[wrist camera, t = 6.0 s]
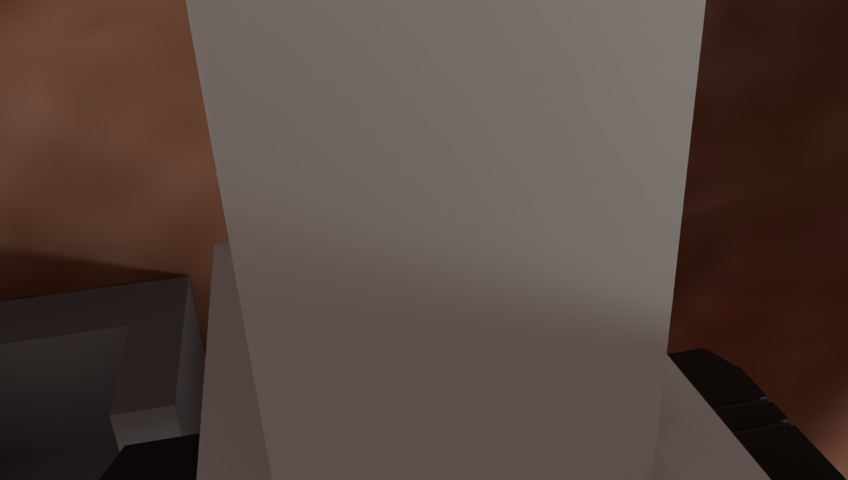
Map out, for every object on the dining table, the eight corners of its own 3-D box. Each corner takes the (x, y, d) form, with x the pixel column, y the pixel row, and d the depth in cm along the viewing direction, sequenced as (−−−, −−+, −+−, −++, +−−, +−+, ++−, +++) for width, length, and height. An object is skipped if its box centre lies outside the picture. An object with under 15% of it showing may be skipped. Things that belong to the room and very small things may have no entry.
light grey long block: (491, 592, 17) (602, 932, 12) (327, 627, 16) (365, 998, 11) (479, -316, 10) (760, -497, 4) (180, -308, 9) (95, -501, 4)
